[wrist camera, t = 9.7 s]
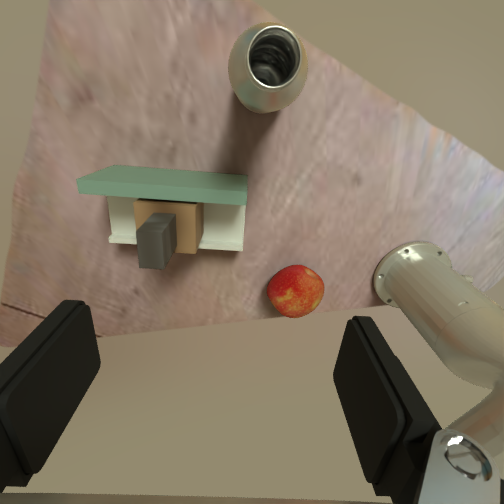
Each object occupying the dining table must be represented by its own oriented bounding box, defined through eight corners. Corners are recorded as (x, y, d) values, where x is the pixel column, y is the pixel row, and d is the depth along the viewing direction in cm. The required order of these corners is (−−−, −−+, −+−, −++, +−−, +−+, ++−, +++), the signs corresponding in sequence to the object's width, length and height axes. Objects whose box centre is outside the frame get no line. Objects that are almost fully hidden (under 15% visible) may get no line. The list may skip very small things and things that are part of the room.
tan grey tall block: (203, 191, 39) (184, 224, 27) (203, 232, 42) (186, 278, 30) (151, 188, 39) (110, 220, 27) (154, 229, 41) (118, 275, 30)
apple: (259, 275, 49) (261, 303, 42) (299, 246, 47) (308, 270, 40) (287, 304, 52) (293, 335, 45) (326, 279, 50) (339, 307, 42)
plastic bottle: (286, 113, 38) (321, 112, 20) (235, 113, 38) (225, 112, 20) (289, 55, 36) (332, -5, 18) (234, 55, 35) (221, -6, 17)
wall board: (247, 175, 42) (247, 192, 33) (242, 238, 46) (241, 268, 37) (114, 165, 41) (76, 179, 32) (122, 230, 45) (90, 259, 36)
